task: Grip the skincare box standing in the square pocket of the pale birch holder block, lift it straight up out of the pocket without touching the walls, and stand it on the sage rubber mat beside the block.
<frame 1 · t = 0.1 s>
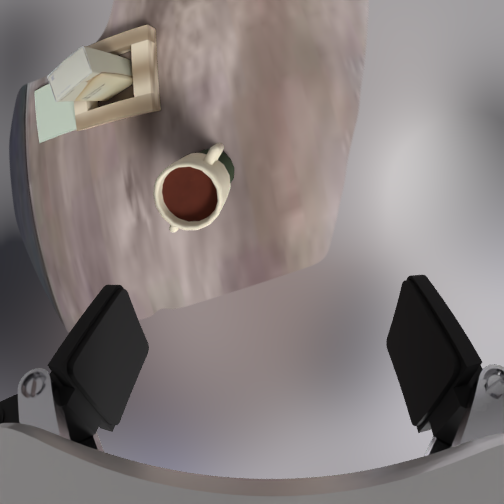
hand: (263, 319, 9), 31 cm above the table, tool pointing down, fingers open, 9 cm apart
skincare box: (118, 79, 31), resting in holder block
sage mat: (56, 108, 33), on the table
character mug: (212, 169, 38), on the table
holder block: (117, 79, 31), on the table
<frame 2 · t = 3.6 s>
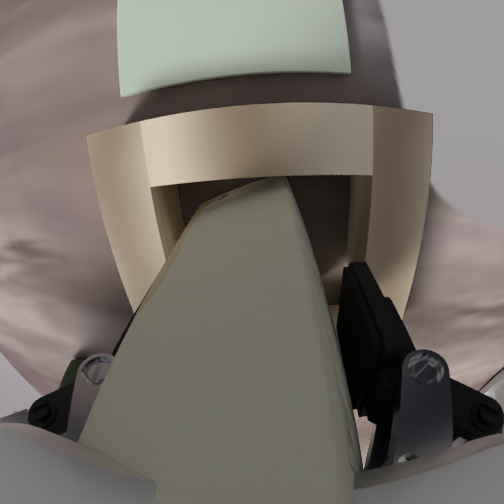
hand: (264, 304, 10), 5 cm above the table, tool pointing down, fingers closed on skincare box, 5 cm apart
skincare box: (267, 241, 14), resting in holder block, touching gripper
character mug: (100, 375, 21), on the table
holder block: (267, 243, 14), on the table
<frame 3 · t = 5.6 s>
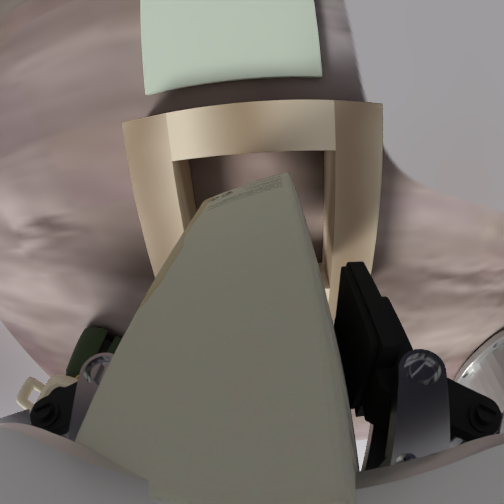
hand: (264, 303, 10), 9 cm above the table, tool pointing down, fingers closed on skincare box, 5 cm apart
skincare box: (269, 240, 14), point 4 cm above the table, touching gripper
sage mat: (225, 7, 11), on the table
character mug: (110, 344, 25), on the table
holder block: (259, 209, 17), on the table
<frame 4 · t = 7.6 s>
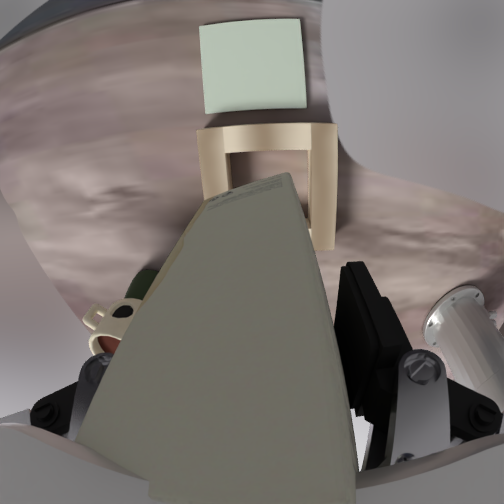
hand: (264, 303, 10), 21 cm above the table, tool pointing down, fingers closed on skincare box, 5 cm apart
skincare box: (269, 240, 14), point 16 cm above the table, touching gripper
sage mat: (252, 63, 23), on the table
character mug: (155, 286, 37), on the table
holder block: (270, 183, 29), on the table
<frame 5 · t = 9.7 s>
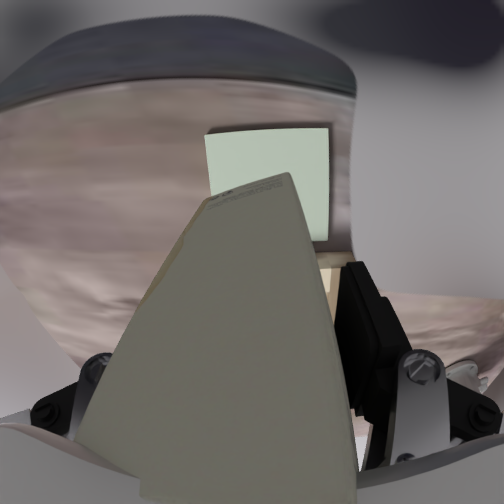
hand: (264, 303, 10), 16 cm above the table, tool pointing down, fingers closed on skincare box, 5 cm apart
skincare box: (269, 240, 14), point 11 cm above the table, touching gripper
sage mat: (269, 187, 24), on the table
holder block: (285, 307, 30), on the table
when the fingers open (7 cm above the table, at t = 11.6 s): skincare box drops 1 cm, resting on sage mat.
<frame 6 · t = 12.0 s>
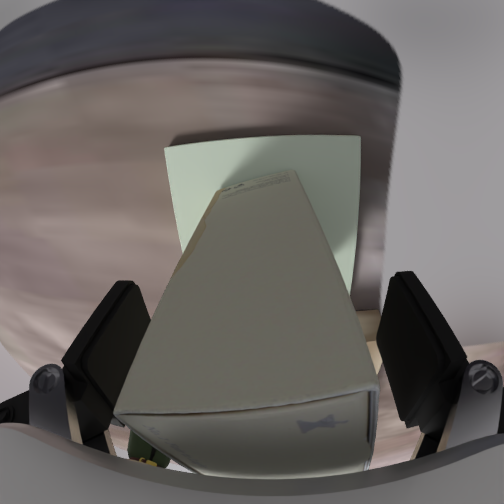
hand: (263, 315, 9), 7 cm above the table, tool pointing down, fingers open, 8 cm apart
skincare box: (272, 230, 15), resting on sage mat
sage mat: (267, 226, 16), on the table
character mug: (157, 423, 29), on the table
holder block: (286, 373, 22), on the table
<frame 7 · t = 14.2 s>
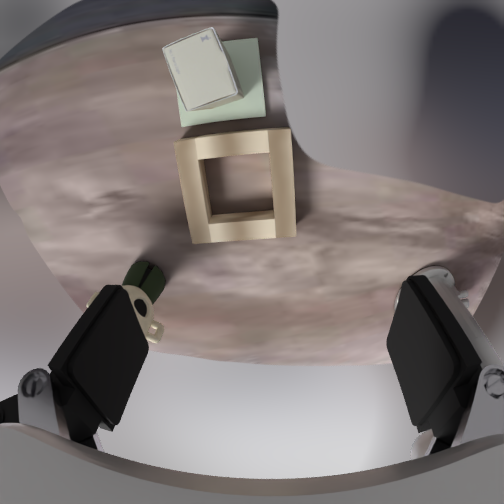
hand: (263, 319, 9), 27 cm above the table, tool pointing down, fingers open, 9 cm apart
skincare box: (220, 81, 28), resting on sage mat
sage mat: (218, 81, 28), on the table
character mug: (148, 275, 42), on the table
holder block: (239, 182, 34), on the table
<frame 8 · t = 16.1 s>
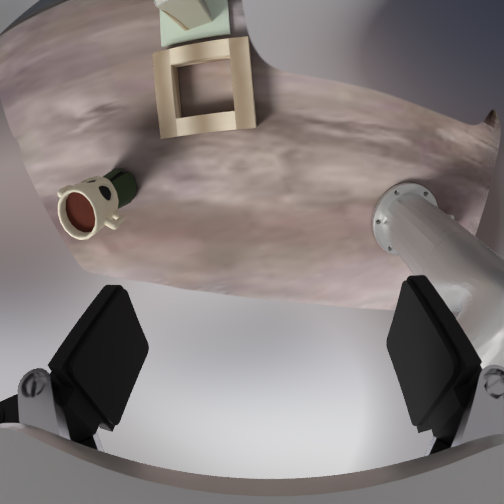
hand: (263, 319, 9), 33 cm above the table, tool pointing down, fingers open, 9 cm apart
skincare box: (195, 11, 28), resting on sage mat
sage mat: (193, 12, 28), on the table
character mug: (122, 185, 42), on the table
holder block: (206, 88, 34), on the table
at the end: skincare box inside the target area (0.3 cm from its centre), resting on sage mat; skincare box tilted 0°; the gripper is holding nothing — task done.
